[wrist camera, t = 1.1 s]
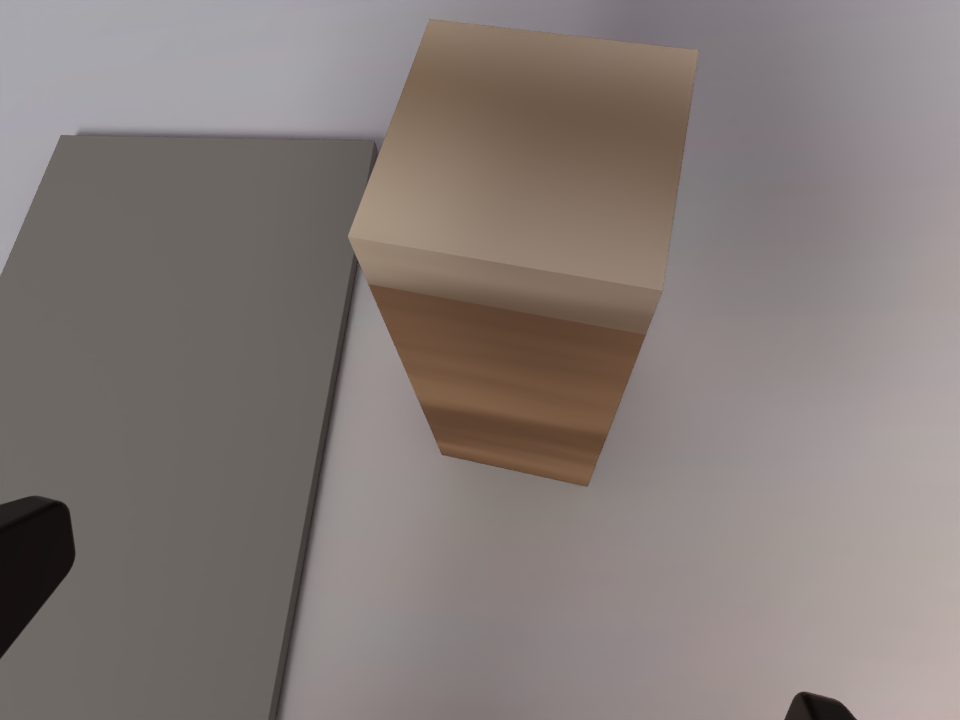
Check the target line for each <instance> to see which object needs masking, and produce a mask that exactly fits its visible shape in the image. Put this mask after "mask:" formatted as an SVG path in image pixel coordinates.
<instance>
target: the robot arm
mask: <svg viewBox="0 0 960 720" xmlns="http://www.w3.org/2000/svg"><path fill="white" fill-rule="evenodd" d="M75 556H76V550H75V543H74V536H73V529H72V522H71V515H70V510H69V508H68V507H67V505H66V504H65V503H63V502H61V501H58V500H54V499H50V498H46V497H42V496H28V497H25V498H21V499H18V500H14V501H11V502H7V503H4V504H0V659H1V658H2V657H3V655H4V654H5V653H6V652H7V650H8V649H9V648H10V646H11V645H12V644H13V643H14V641H15V640H16V639H17V638H18V636H19V635H20V634H21V633H22V631H23V630H24V629H25V628H26V626H27V625H28V624H29V623H30V621H31V620H32V619H33V617H34V616H35V615H36V614H37V612H38V611H39V610H40V609H41V607H42V606H43V605H44V604H45V602H46V601H47V600H48V599H49V597H50V596H51V595H52V593H53V592H54V591H55V590H56V588H57V587H58V586H59V585H60V583H61V582H62V581H63V580H64V578H65V577H66V576H67V575H68V573H69V572H70V570H71V568H72V566H73V564H74V561H75ZM784 720H857V719H856V718H855V717H854V716H853V715H852V713H851V712H850V711H849V710H848V709H847V708H846V707H845V706H844V705H843V704H842V703H841V702H839V701H837V700H835V699H832V698H828V697H825V696H821V695H817V694H813V693H809V692H800V693H798V694H797V695H796V696H795V697H794V699H793V700H792V703H791V705H790V708H789V710H788V712H787V715H786V717H785V719H784Z"/></svg>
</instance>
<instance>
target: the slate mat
mask: <svg viewBox="0 0 960 720" xmlns="http://www.w3.org/2000/svg"><path fill="white" fill-rule="evenodd" d="M376 156H377V148H376V144H375V141H359V140H302V139H245V138H187V137H130V136H73V135H61V136H60V139H59V141H58V143H57V146H56V148H55V150H54V153H53V155H52V157H51V160H50V162H49V164H48V167H47V169H46V171H45V174H44V176H43V178H42V181H41V183H40V185H39V188H38V190H37V192H36V195H35V197H34V199H33V202H32V204H31V206H30V209H29V211H28V213H27V216H26V218H25V220H24V223H23V225H22V227H21V230H20V232H19V234H18V237H17V239H16V241H15V244H14V246H13V248H12V251H11V253H10V255H9V258H8V260H7V262H6V265H5V267H4V269H3V272H2V274H1V276H0V504H4V503H7V502H11V501H14V500H18V499H21V498H25V497H28V496H42V497H46V498H50V499H54V500H58V501H61V502H63V503H65V504H66V505H67V507H68V508H69V510H70V515H71V522H72V529H73V536H74V543H75V550H76V556H75V561H74V564H73V566H72V568H71V570H70V572H69V573H68V575H67V576H66V577H65V578H64V580H63V581H62V582H61V583H60V585H59V586H58V587H57V588H56V590H55V591H54V592H53V593H52V595H51V596H50V597H49V599H48V600H47V601H46V602H45V604H44V605H43V606H42V607H41V609H40V610H39V611H38V612H37V614H36V615H35V616H34V617H33V619H32V620H31V621H30V623H29V624H28V625H27V626H26V628H25V629H24V630H23V631H22V633H21V634H20V635H19V636H18V638H17V639H16V640H15V641H14V643H13V644H12V645H11V646H10V648H9V649H8V650H7V652H6V653H5V654H4V655H3V657H2V658H1V659H0V720H275V717H276V711H277V706H278V700H279V695H280V689H281V684H282V678H283V672H284V667H285V661H286V656H287V650H288V645H289V639H290V634H291V628H292V622H293V617H294V611H295V606H296V600H297V595H298V589H299V584H300V578H301V572H302V567H303V561H304V556H305V550H306V545H307V539H308V534H309V528H310V522H311V517H312V511H313V506H314V500H315V495H316V489H317V484H318V478H319V472H320V467H321V461H322V456H323V450H324V445H325V439H326V434H327V428H328V422H329V417H330V411H331V406H332V400H333V395H334V389H335V384H336V378H337V372H338V367H339V361H340V356H341V350H342V345H343V339H344V334H345V328H346V322H347V317H348V311H349V306H350V300H351V295H352V289H353V284H354V278H355V272H356V267H357V261H358V259H357V257H356V255H355V252H354V250H353V248H352V245H351V243H350V241H349V239H348V234H349V232H350V229H351V226H352V224H353V221H354V219H355V216H356V213H357V211H358V208H359V205H360V203H361V200H362V197H363V195H364V192H365V189H366V187H367V184H368V181H369V179H370V176H371V173H372V171H373V168H374V165H375V161H376Z"/></svg>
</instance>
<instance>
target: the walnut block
mask: <svg viewBox="0 0 960 720" xmlns="http://www.w3.org/2000/svg"><path fill="white" fill-rule="evenodd" d="M698 52H699V50H692V49H683V48H675V47H666V46H657V45H649V44H640V43H632V42H623V41H614V40H606V39H597V38H589V37H580V36H571V35H563V34H554V33H545V32H537V31H528V30H520V29H511V28H502V27H494V26H485V25H477V24H468V23H459V22H451V21H442V20H433V19H429V22H428V25H427V27H426V30H425V33H424V35H423V38H422V41H421V43H420V46H419V49H418V51H417V54H416V56H415V59H414V62H413V64H412V67H411V70H410V72H409V75H408V78H407V80H406V83H405V86H404V88H403V91H402V94H401V96H400V99H399V102H398V104H397V107H396V110H395V112H394V115H393V118H392V120H391V123H390V126H389V128H388V131H387V134H386V136H385V139H384V141H383V144H382V147H381V149H380V152H379V155H378V157H377V160H376V163H375V165H374V168H373V171H372V173H371V176H370V179H369V181H368V184H367V187H366V189H365V192H364V195H363V197H362V200H361V203H360V205H359V208H358V211H357V213H356V216H355V219H354V221H353V224H352V226H351V229H350V232H349V234H348V239H349V241H350V243H351V245H352V248H353V250H354V252H355V255H356V257H357V259H358V262H359V264H360V266H361V269H362V271H363V273H364V275H365V278H366V280H367V282H368V285H369V287H370V289H371V292H372V294H373V296H374V299H375V301H376V303H377V306H378V308H379V310H380V312H381V315H382V317H383V319H384V322H385V324H386V326H387V329H388V331H389V333H390V336H391V338H392V340H393V342H394V345H395V347H396V349H397V352H398V354H399V356H400V359H401V361H402V363H403V366H404V368H405V370H406V372H407V375H408V377H409V379H410V382H411V384H412V386H413V389H414V391H415V393H416V396H417V398H418V400H419V403H420V405H421V407H422V409H423V412H424V414H425V416H426V419H427V421H428V423H429V426H430V428H431V430H432V433H433V435H434V437H435V439H436V442H437V444H438V446H439V449H440V451H441V453H442V455H446V456H451V457H455V458H460V459H464V460H469V461H473V462H478V463H482V464H487V465H491V466H496V467H501V468H505V469H510V470H514V471H519V472H523V473H528V474H532V475H537V476H541V477H546V478H551V479H555V480H560V481H564V482H569V483H573V484H578V485H582V486H588V484H589V481H590V479H591V476H592V473H593V471H594V468H595V466H596V463H597V460H598V458H599V455H600V453H601V450H602V447H603V445H604V442H605V440H606V437H607V434H608V432H609V429H610V427H611V424H612V421H613V419H614V416H615V413H616V411H617V408H618V406H619V403H620V400H621V398H622V395H623V393H624V390H625V387H626V385H627V382H628V380H629V377H630V374H631V372H632V369H633V367H634V364H635V361H636V359H637V356H638V354H639V351H640V348H641V346H642V343H643V341H644V338H645V335H646V333H647V330H648V328H649V325H650V322H651V320H652V317H653V315H654V312H655V309H656V307H657V304H658V302H659V299H660V296H661V294H662V291H663V285H664V278H665V272H666V265H667V258H668V252H669V245H670V238H671V232H672V225H673V219H674V212H675V205H676V199H677V192H678V185H679V179H680V172H681V165H682V159H683V152H684V145H685V139H686V132H687V126H688V119H689V112H690V106H691V99H692V92H693V86H694V79H695V72H696V66H697V59H698Z"/></svg>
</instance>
